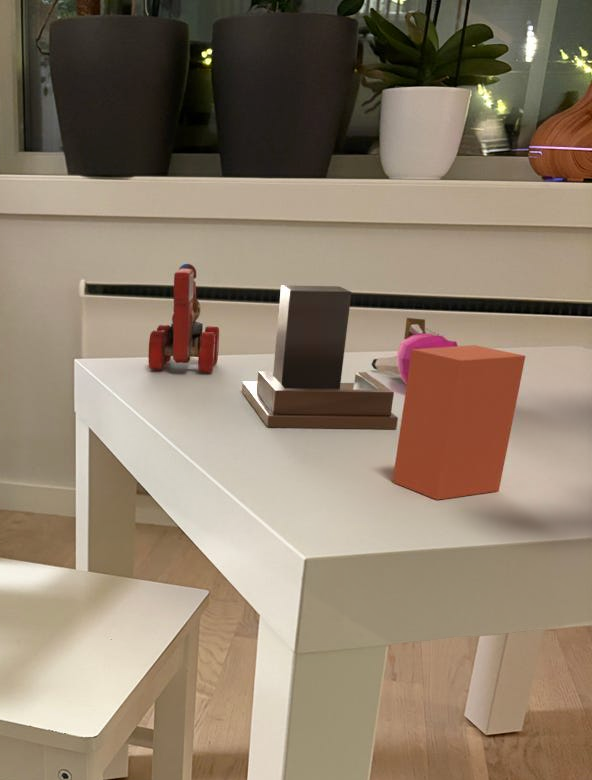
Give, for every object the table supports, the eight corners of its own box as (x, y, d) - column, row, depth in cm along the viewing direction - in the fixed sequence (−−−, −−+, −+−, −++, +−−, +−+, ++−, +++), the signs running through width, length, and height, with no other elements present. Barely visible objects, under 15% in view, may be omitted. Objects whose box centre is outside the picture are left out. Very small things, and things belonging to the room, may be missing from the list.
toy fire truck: (219, 358, 112) (225, 262, 108) (210, 378, 101) (217, 272, 97) (159, 355, 113) (163, 260, 109) (144, 375, 102) (148, 269, 98)
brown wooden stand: (396, 429, 82) (414, 305, 78) (267, 427, 82) (278, 302, 78) (352, 393, 96) (366, 285, 91) (241, 391, 95) (249, 283, 91)
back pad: (499, 491, 66) (526, 355, 62) (437, 500, 64) (460, 360, 60) (452, 474, 70) (474, 345, 66) (391, 482, 68) (411, 349, 64)
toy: (457, 375, 107) (508, 393, 93) (370, 384, 108) (409, 403, 94) (459, 305, 105) (512, 313, 91) (370, 315, 105) (410, 324, 91)
